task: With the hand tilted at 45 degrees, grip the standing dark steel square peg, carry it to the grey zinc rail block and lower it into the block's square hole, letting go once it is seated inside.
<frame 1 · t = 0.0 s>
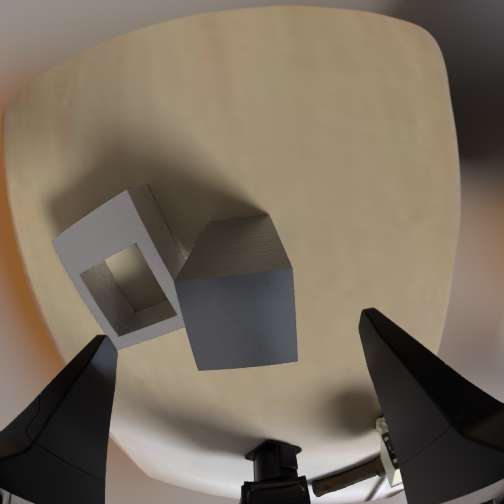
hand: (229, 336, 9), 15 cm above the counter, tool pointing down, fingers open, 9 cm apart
hand tool: (356, 465, 38), on the counter
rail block: (143, 273, 25), on the counter
pneumatic valve: (387, 418, 33), on the counter
peg: (243, 246, 24), on the counter
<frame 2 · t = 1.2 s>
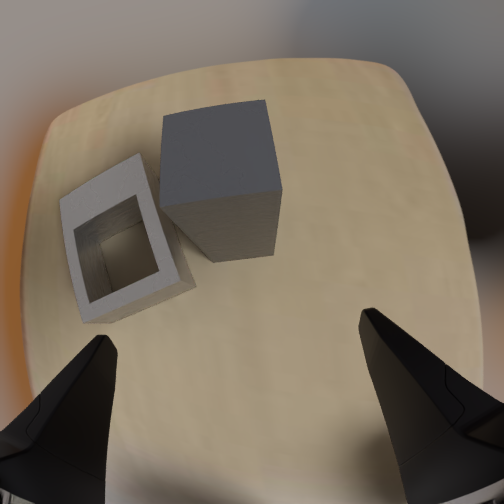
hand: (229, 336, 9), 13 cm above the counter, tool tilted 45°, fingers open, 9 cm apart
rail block: (135, 259, 23), on the counter
peg: (240, 230, 24), on the counter
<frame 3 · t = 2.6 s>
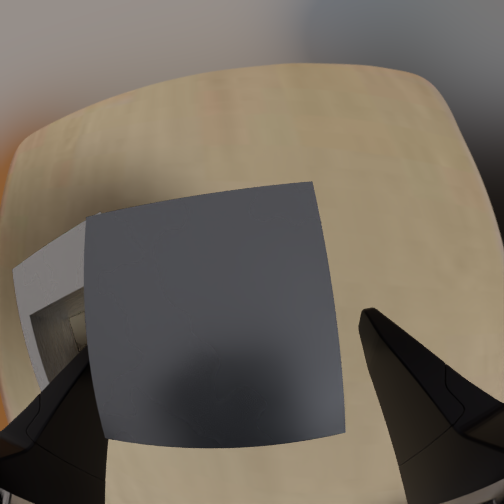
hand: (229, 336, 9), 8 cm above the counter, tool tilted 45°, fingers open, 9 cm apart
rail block: (111, 347, 17), on the counter
peg: (245, 318, 17), on the counter
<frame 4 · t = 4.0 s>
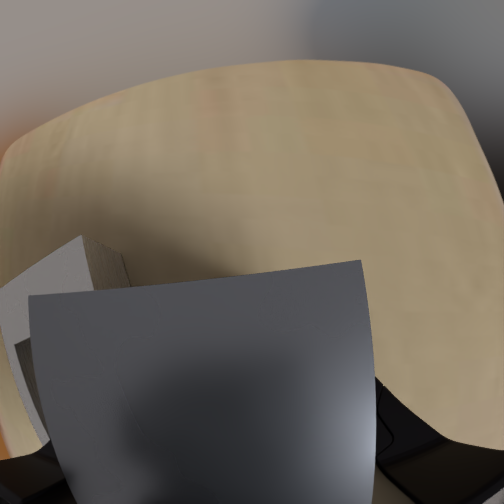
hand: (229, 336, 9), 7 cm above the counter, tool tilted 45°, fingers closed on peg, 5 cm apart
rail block: (103, 376, 15), on the counter
peg: (246, 351, 15), on the counter, touching gripper
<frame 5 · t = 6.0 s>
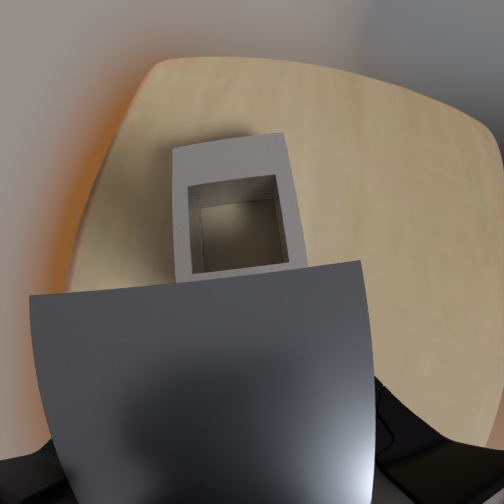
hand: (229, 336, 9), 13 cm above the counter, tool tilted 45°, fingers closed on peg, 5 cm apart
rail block: (240, 238, 23), on the counter
peg: (246, 350, 15), point 7 cm above the counter, touching gripper
when the fingers open (9 cm above the counter, at t = 8.3 s): peg drops 2 cm, resting in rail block.
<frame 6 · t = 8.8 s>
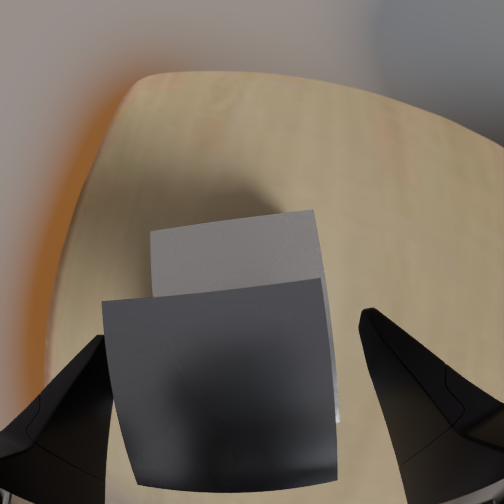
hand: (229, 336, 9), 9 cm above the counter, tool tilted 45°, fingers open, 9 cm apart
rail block: (249, 345, 17), on the counter
peg: (249, 344, 17), resting in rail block
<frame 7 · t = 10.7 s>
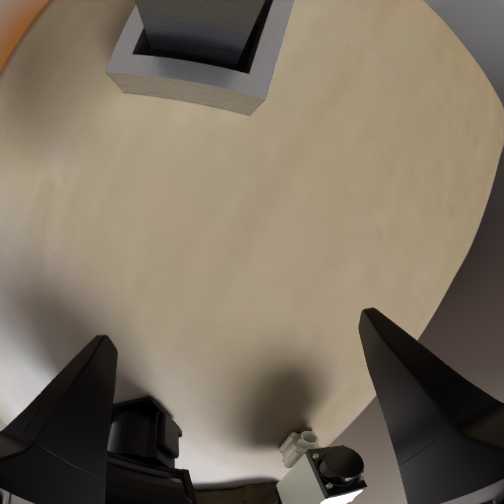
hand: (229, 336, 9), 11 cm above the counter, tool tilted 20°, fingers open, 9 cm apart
hand tool: (217, 486, 29), on the counter
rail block: (204, 47, 15), on the counter
pneumatic valve: (298, 438, 28), on the counter
peg: (204, 46, 15), resting in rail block
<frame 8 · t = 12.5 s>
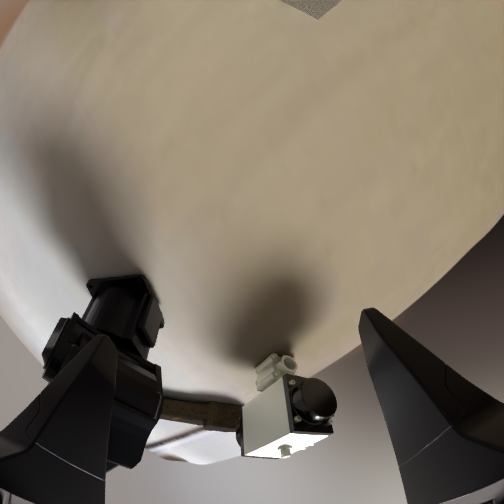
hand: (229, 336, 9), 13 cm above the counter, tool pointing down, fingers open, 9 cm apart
hand tool: (182, 397, 36), on the counter
pneumatic valve: (277, 362, 31), on the counter
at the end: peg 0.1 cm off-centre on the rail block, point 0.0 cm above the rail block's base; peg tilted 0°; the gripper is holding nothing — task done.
